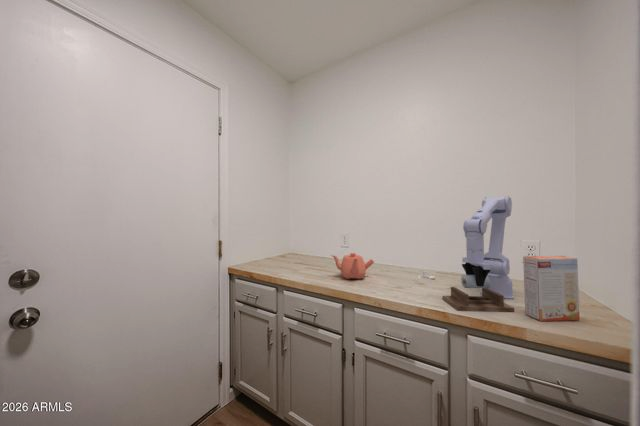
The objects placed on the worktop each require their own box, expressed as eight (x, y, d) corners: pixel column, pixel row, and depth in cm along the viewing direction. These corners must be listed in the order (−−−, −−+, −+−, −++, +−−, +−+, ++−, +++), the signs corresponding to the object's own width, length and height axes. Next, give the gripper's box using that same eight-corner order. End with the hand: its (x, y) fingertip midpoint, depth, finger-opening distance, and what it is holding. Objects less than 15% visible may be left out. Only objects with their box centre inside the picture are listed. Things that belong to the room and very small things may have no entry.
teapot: (356, 283, 120) (356, 257, 120) (330, 277, 133) (330, 253, 133) (375, 277, 132) (375, 253, 133) (350, 272, 145) (350, 250, 146)
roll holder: (491, 300, 96) (491, 286, 96) (514, 312, 84) (514, 296, 84) (442, 299, 97) (442, 286, 97) (457, 310, 85) (457, 295, 85)
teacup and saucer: (437, 279, 128) (437, 272, 128) (426, 281, 125) (426, 273, 125) (425, 276, 136) (425, 269, 136) (414, 277, 133) (414, 270, 134)
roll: (482, 286, 93) (482, 273, 93) (490, 290, 88) (490, 277, 88) (460, 285, 93) (460, 273, 93) (467, 289, 88) (467, 276, 88)
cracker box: (561, 313, 82) (560, 255, 83) (580, 321, 76) (579, 258, 77) (523, 314, 82) (522, 255, 82) (540, 321, 76) (538, 258, 76)
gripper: (454, 247, 98) (455, 278, 98) (475, 252, 84) (476, 289, 84) (472, 247, 98) (472, 279, 98) (496, 252, 83) (496, 290, 83)
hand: (475, 284), depth 90 cm, fingers closed on roll, 5 cm apart
